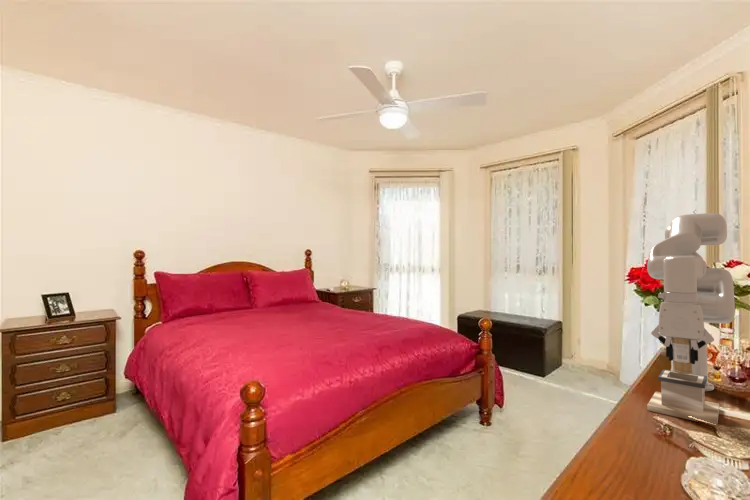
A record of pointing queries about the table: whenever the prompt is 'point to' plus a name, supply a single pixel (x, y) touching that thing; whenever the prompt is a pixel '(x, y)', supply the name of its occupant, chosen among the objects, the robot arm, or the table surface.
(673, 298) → the robot arm
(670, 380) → the silver stepped pedestal
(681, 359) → the sprinkles bottle
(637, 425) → the table surface
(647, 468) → the table surface
